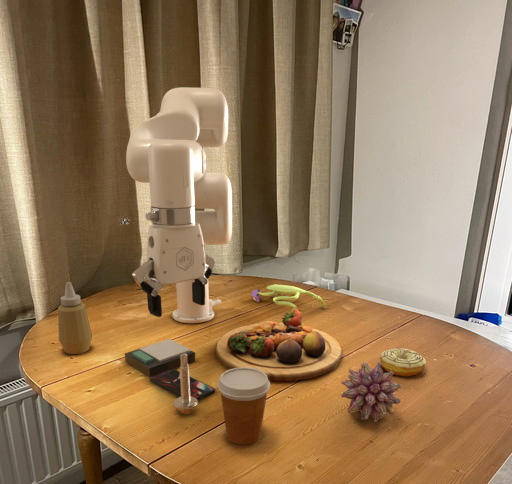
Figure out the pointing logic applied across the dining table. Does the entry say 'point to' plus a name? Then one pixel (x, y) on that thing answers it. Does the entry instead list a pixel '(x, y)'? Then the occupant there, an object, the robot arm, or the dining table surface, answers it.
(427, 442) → the dining table surface
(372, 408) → the flower
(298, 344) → the wooden plate
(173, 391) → the smartphone
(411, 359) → the decorated donut
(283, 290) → the figurine
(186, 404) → the screw
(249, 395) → the disposable coffee cup
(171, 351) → the scale
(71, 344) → the squeeze bottle
